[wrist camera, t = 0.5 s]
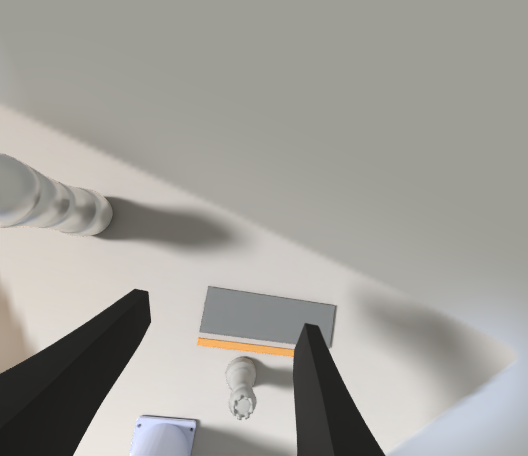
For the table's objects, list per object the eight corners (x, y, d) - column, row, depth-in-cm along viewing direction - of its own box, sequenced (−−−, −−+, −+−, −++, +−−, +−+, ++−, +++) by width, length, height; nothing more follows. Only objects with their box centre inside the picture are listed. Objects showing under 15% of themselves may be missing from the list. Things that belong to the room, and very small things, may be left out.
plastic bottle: (67, 195, 33) (-179, 115, 13) (118, 192, 34) (-42, 113, 14) (68, 239, 32) (-185, 225, 13) (120, 235, 33) (-42, 215, 14)
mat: (327, 347, 36) (329, 348, 35) (199, 330, 34) (199, 332, 33) (333, 305, 37) (335, 306, 36) (208, 286, 34) (208, 286, 34)
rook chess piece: (251, 351, 34) (257, 382, 27) (258, 381, 34) (266, 421, 26) (222, 360, 34) (219, 394, 26) (229, 391, 34) (227, 435, 26)
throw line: (326, 360, 36) (326, 360, 36) (197, 344, 33) (197, 345, 33) (327, 353, 36) (327, 354, 36) (198, 337, 34) (198, 338, 33)
